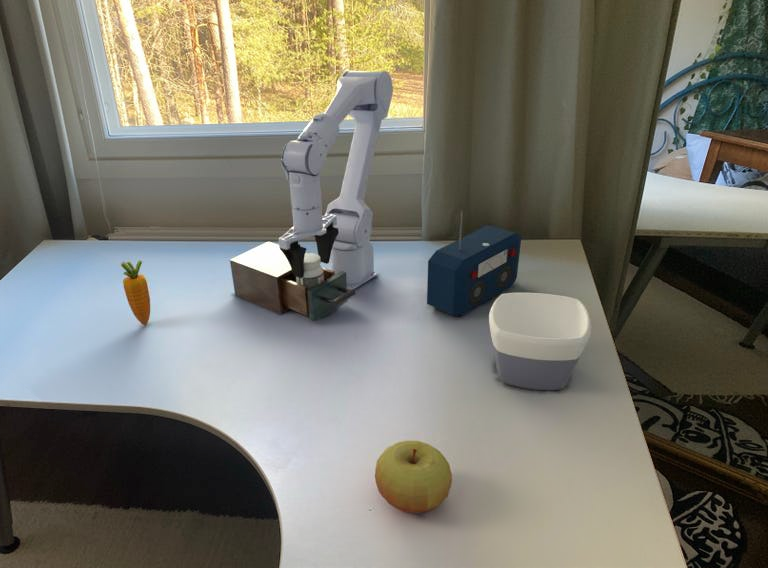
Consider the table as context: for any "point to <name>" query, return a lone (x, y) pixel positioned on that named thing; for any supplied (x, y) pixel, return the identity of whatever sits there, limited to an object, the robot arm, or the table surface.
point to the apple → (413, 476)
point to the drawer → (316, 294)
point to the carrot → (137, 292)
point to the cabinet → (261, 276)
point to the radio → (472, 269)
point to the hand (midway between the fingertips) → (311, 269)
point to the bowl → (538, 338)
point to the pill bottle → (311, 271)
